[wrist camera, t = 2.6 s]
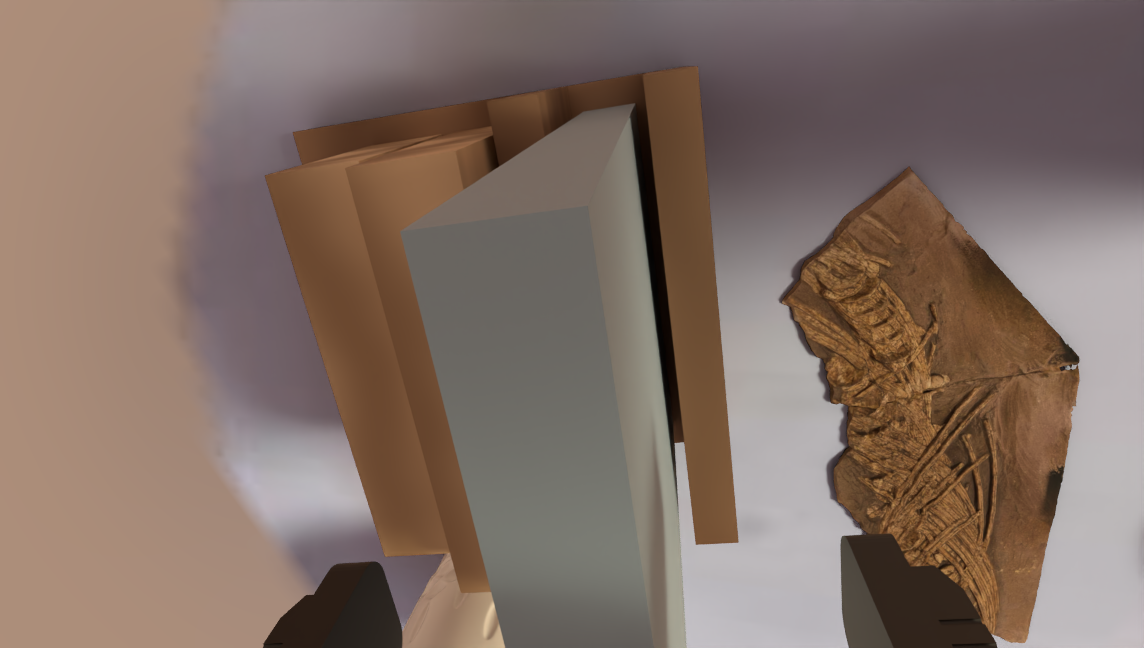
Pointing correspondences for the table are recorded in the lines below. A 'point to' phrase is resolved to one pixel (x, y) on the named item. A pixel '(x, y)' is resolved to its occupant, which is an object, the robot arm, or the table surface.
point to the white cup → (452, 615)
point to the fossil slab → (941, 397)
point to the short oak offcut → (358, 346)
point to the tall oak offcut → (385, 207)
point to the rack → (675, 233)
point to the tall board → (560, 387)
